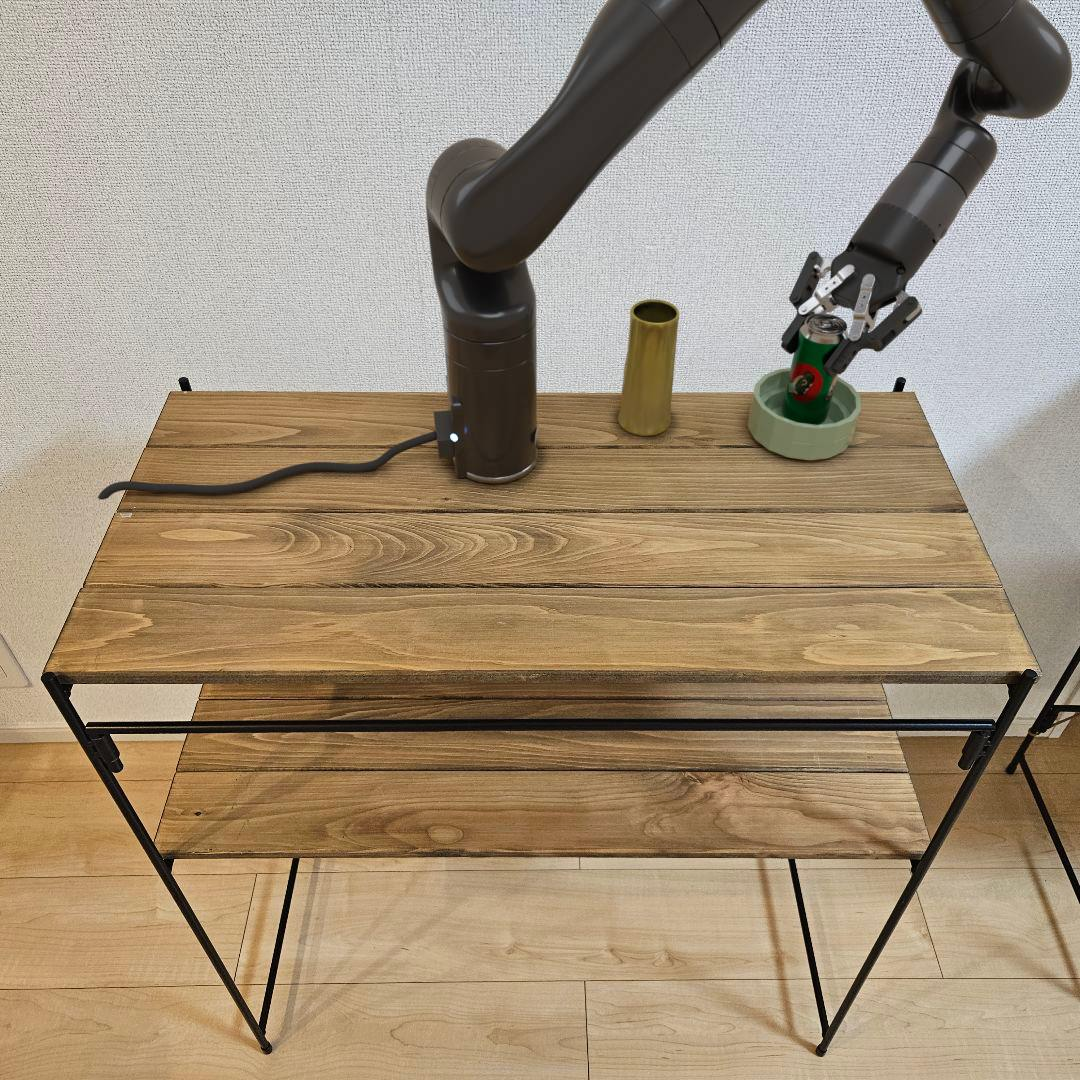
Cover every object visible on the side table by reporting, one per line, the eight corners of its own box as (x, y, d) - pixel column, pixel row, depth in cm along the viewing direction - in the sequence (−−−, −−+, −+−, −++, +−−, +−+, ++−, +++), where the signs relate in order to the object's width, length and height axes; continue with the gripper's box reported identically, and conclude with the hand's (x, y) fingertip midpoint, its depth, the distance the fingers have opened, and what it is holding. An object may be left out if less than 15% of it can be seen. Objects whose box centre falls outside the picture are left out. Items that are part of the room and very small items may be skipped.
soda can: (830, 431, 99) (856, 336, 91) (784, 430, 99) (806, 336, 91) (820, 404, 103) (845, 311, 94) (776, 404, 103) (797, 311, 94)
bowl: (767, 469, 97) (776, 432, 94) (733, 408, 106) (740, 372, 102) (867, 458, 99) (879, 421, 95) (826, 399, 107) (835, 363, 103)
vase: (655, 401, 106) (667, 292, 97) (679, 430, 102) (694, 319, 92) (609, 412, 105) (616, 302, 95) (631, 441, 101) (641, 330, 91)
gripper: (840, 180, 92) (743, 320, 95) (962, 228, 84) (851, 379, 87) (860, 216, 98) (767, 347, 101) (975, 264, 90) (871, 404, 93)
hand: (807, 361), depth 94 cm, fingers closed on soda can, 5 cm apart
